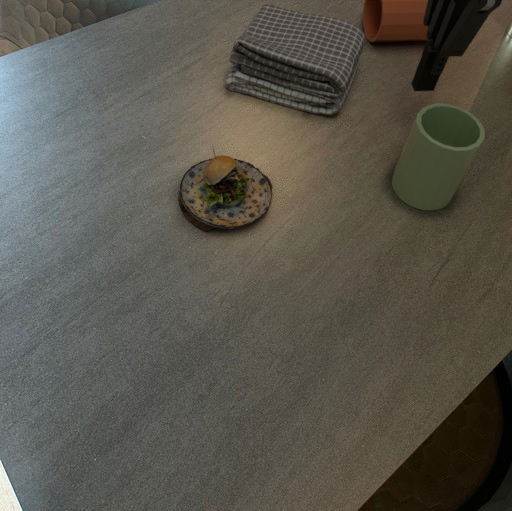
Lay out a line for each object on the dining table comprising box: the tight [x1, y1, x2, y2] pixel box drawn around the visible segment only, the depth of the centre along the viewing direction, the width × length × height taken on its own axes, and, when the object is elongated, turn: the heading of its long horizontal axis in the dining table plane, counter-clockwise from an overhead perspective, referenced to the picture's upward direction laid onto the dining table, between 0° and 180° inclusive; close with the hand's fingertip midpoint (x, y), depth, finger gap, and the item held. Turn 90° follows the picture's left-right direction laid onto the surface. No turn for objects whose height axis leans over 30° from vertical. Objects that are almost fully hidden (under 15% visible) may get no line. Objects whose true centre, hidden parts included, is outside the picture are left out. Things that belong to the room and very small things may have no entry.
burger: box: [178, 145, 273, 232], centre depth 77 cm, size 12×12×8 cm
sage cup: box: [391, 102, 485, 211], centre depth 81 cm, size 8×8×11 cm
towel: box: [224, 3, 368, 116], centre depth 93 cm, size 15×18×8 cm
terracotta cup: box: [362, 0, 428, 43], centre depth 102 cm, size 8×8×11 cm
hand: (422, 87), depth 83 cm, fingers closed
